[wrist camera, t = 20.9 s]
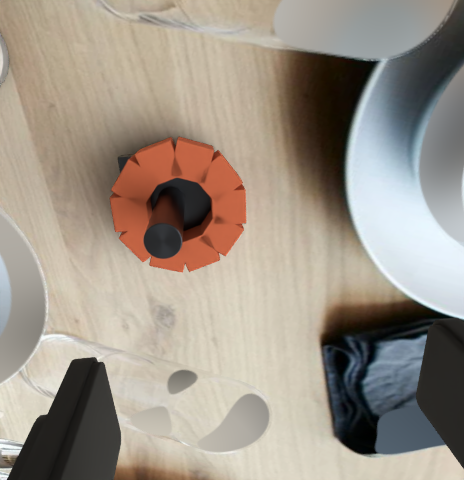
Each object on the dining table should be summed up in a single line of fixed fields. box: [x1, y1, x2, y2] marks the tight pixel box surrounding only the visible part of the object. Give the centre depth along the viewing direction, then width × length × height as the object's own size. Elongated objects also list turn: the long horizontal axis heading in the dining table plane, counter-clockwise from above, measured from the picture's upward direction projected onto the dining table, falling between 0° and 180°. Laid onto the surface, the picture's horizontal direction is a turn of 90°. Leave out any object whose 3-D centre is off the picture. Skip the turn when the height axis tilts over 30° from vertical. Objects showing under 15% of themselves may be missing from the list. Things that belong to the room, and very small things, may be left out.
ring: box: [110, 137, 246, 272], centre depth 30 cm, size 11×11×3 cm
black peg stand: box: [118, 153, 214, 259], centre depth 28 cm, size 8×8×12 cm
